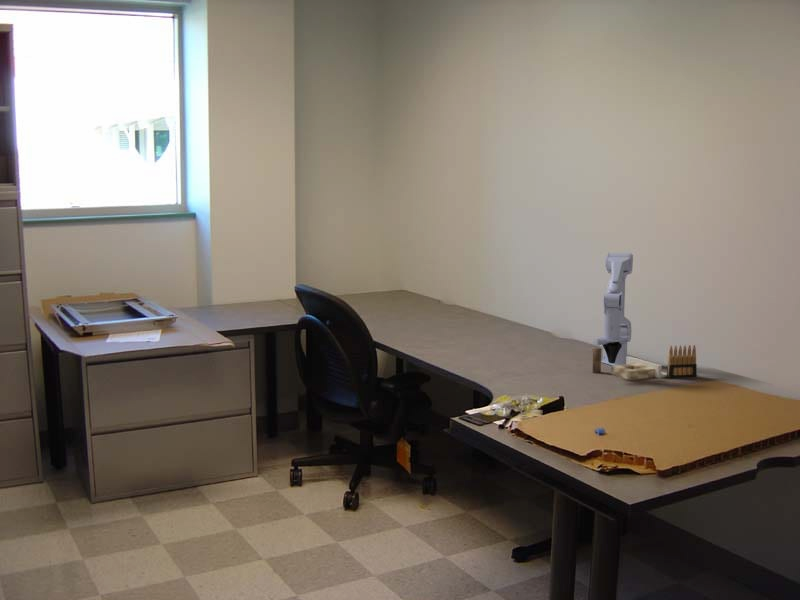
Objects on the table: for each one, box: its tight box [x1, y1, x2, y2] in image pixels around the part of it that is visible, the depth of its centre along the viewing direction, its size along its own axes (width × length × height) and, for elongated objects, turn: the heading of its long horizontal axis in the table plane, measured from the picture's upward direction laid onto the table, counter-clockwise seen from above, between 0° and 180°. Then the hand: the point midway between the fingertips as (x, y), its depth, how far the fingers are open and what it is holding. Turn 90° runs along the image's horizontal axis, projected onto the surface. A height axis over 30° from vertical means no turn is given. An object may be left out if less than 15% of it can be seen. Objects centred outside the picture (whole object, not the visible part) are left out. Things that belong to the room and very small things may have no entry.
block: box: [610, 363, 656, 381], centre depth 317 cm, size 11×11×3 cm
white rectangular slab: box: [626, 356, 667, 379], centre depth 322 cm, size 18×6×4 cm, turn 24°
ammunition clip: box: [666, 344, 698, 380], centre depth 312 cm, size 11×2×12 cm, turn 97°
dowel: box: [592, 347, 602, 374], centre depth 322 cm, size 3×3×9 cm
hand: (611, 362), depth 313 cm, fingers closed
